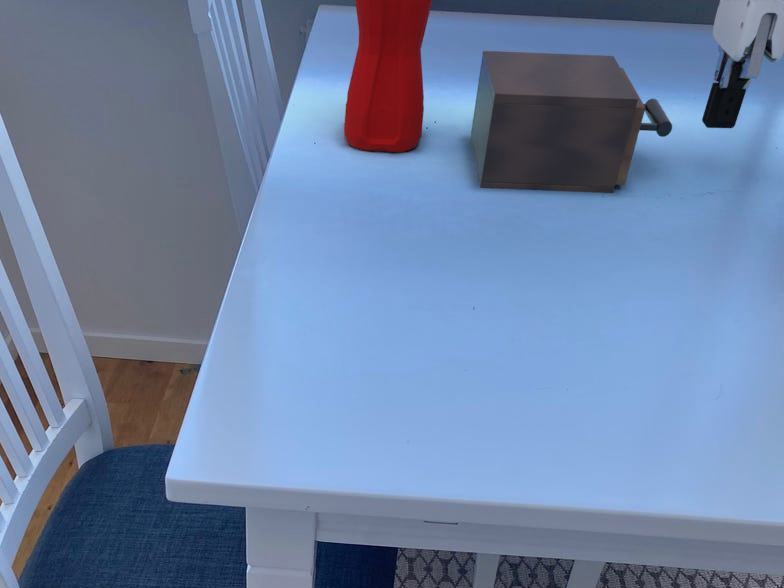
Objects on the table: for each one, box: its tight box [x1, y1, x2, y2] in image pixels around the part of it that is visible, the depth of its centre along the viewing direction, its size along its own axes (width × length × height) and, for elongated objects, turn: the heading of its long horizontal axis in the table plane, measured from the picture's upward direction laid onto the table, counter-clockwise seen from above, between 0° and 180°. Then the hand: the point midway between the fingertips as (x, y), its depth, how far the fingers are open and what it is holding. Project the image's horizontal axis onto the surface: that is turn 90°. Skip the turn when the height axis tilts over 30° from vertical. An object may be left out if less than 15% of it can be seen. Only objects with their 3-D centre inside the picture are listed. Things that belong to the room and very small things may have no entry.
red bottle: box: [343, 0, 434, 154], centre depth 105 cm, size 9×11×25 cm
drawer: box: [615, 67, 673, 186], centre depth 105 cm, size 18×13×8 cm
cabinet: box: [469, 50, 638, 194], centre depth 105 cm, size 15×14×10 cm
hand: (717, 125), depth 104 cm, fingers closed
